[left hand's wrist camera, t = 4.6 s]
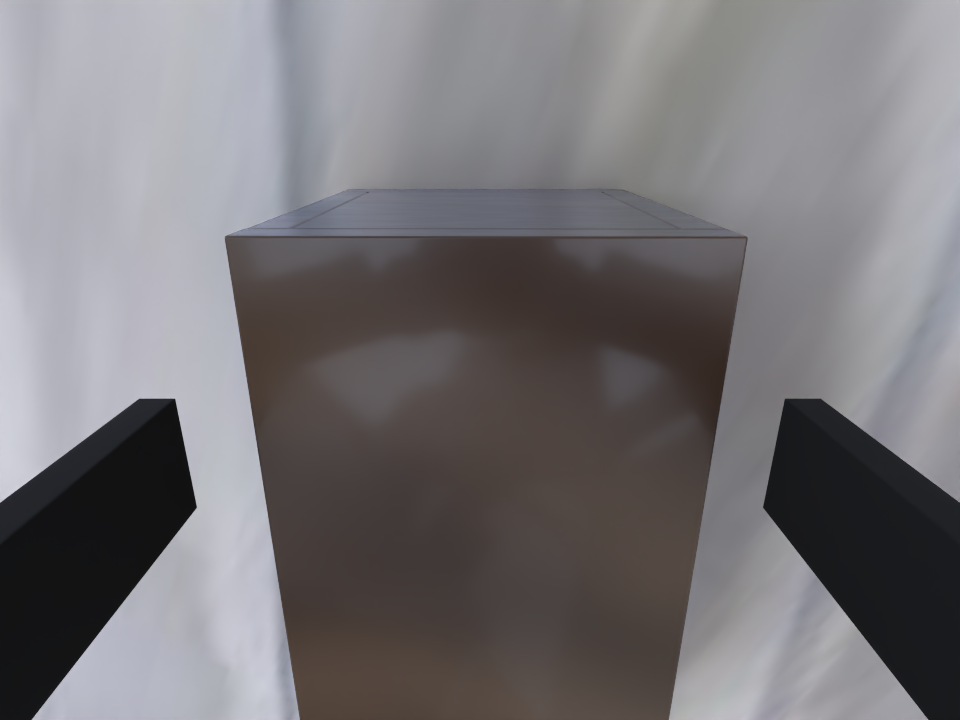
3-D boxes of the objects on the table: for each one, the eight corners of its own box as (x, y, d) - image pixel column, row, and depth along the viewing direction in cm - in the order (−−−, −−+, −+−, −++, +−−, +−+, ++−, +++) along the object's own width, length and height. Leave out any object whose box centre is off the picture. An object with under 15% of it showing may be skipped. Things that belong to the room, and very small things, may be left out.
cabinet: (588, 605, 28) (645, 864, 18) (379, 604, 28) (321, 861, 18) (624, 189, 21) (748, 237, 11) (346, 189, 21) (223, 235, 11)
